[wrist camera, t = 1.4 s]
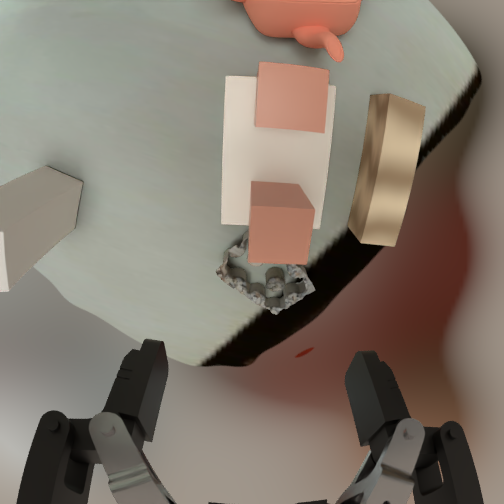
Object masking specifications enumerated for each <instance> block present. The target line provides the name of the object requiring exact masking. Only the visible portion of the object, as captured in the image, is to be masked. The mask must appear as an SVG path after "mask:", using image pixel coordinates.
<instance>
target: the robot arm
mask: <svg viewBox="0 0 504 504" xmlns="http://www.w3.org/2000/svg"><path fill="white" fill-rule="evenodd" d="M167 377H168V360H167V355H166V350H165V345H164V342H163V341H158V340H151V339H145V340H144V342H143V344H142V347H141V349H140V351H139V350H134V349H132V350H131V351H130V352H129V353H128V354H127V355H126V356H125V357H124V360H123V361H122V364H121V366H120V370H119V371H118V374H117V378H116V379H115V381H114V384H113V386H112V389H111V392H110V394H109V397H108V399H107V402H106V405H105V407H104V409H103V411H102V412H101V413H99V414H97V415H95V416H94V417H93V418H90V419H68V418H67V417H66V416H65V415H64V414H63V413H61V412H59V411H49V412H47V413H45V414H44V415H43V416H42V418H41V419H40V422H39V424H38V427H37V430H36V433H35V436H34V439H33V442H32V445H31V448H30V451H29V455H28V458H27V461H26V465H25V468H24V472H23V476H22V481H21V484H20V489H19V493H18V498H17V504H87V503H88V497H89V490H90V485H91V479H92V474H93V469H94V465H95V464H103V467H104V469H105V471H106V473H107V475H108V478H109V483H108V484H109V487H110V490H111V492H112V494H113V496H114V498H115V500H116V502H117V503H118V504H177V503H176V502H175V501H174V499H173V498H172V496H171V495H170V494H169V493H168V491H167V490H166V488H165V487H164V486H163V484H162V483H161V481H160V479H159V478H158V476H157V475H156V473H155V471H154V470H153V468H152V466H151V465H150V463H149V461H148V459H147V458H146V456H145V454H144V452H143V450H142V448H143V444H144V441H149V442H152V440H153V435H154V431H155V426H156V422H157V418H158V413H159V410H160V405H161V401H162V397H163V393H164V389H165V385H166V381H167ZM345 386H346V390H347V394H348V397H349V401H350V405H351V409H352V413H353V416H354V421H355V425H356V429H357V433H358V437H359V442H360V446H367V445H370V449H371V450H370V451H369V452H368V454H367V456H366V458H365V460H364V462H363V464H362V466H361V467H360V469H359V471H358V473H357V475H356V476H355V478H354V480H353V482H352V483H351V485H350V486H349V487H348V488H347V489H346V490H345V491H344V492H343V494H342V495H341V496H340V497H339V499H338V500H337V502H336V503H335V504H406V503H407V501H408V498H409V496H410V494H411V492H412V489H413V495H414V501H415V504H484V503H483V498H482V493H481V489H480V484H479V480H478V477H477V473H476V469H475V466H474V462H473V459H472V455H471V452H470V449H469V446H468V443H467V440H466V437H465V434H464V431H463V429H462V427H461V426H460V425H459V424H458V423H456V422H454V421H448V422H446V423H444V424H443V425H442V426H441V427H440V428H438V427H424V426H423V425H422V424H421V423H420V422H419V421H417V420H415V419H412V418H411V417H410V415H409V412H408V409H407V407H406V404H405V402H404V399H403V397H402V394H401V391H400V389H399V388H398V384H397V382H396V381H395V377H394V374H393V372H392V370H391V369H390V367H389V366H388V365H387V364H386V363H385V362H384V361H382V362H380V360H379V358H378V356H377V353H376V352H375V351H358V352H357V353H356V354H355V356H354V358H353V360H352V362H351V364H350V366H349V368H348V370H347V372H346V375H345ZM438 461H439V463H440V467H441V471H442V475H443V482H442V478H441V474H440V470H439V465H438ZM209 504H222V503H211V502H209ZM297 504H328V503H327V500H319V501H311V502H302V503H297Z"/></svg>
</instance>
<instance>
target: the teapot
mask: <svg viewBox="0 0 504 504" xmlns="http://www.w3.org/2000/svg"><path fill="white" fill-rule="evenodd" d="M232 1H236V2H243V5H244V7H245V10H246V12H247V14H248V16H249V18H250V20H251V21H252V23H253V24H254V26H255V27H256V29H257V30H258V31H259V32H261V33H262V34H264V35H266V36H270V37H282V38H295V39H296V40H297V41H298V42H299V43H300V44H301V45H303V46H305V47H309V48H325V49H326V50H327V52H328V54H329V55H330V56H331V58H332V59H333V60H335V61H336V62H341V61H342V60H343V58H344V51H343V47H342V45H341V43H340V41H339V39H338V38H337V37H336V36H338V35H342V34H345V33H346V32H348V31H349V30H350V29H351V27H352V26H353V25H354V23H355V22H356V20H357V17H358V14H359V10H360V4H361V0H232Z"/></svg>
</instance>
